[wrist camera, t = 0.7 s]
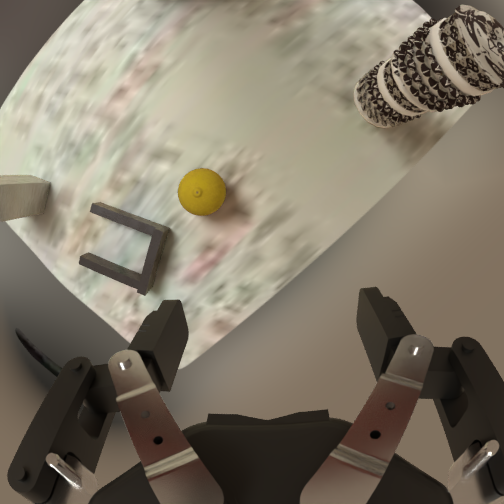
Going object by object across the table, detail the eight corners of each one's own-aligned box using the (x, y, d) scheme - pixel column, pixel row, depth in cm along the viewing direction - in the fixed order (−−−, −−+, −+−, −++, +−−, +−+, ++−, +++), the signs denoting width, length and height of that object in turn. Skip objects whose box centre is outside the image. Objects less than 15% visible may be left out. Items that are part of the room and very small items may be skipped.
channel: (86, 259, 38) (75, 265, 35) (100, 202, 36) (88, 203, 33) (152, 287, 39) (145, 295, 36) (170, 228, 38) (163, 231, 34)
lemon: (200, 220, 38) (189, 229, 30) (177, 186, 37) (161, 185, 29) (235, 197, 37) (234, 199, 29) (212, 162, 36) (205, 155, 28)
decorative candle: (343, 73, 34) (440, -20, 9) (395, 74, 34) (505, 9, 9) (359, 132, 36) (488, 83, 11) (411, 128, 36) (541, 98, 11)
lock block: (24, 204, 36) (-29, 213, 23) (30, 175, 35) (-23, 176, 22) (43, 213, 36) (-10, 224, 24) (50, 182, 35) (-4, 184, 23)
